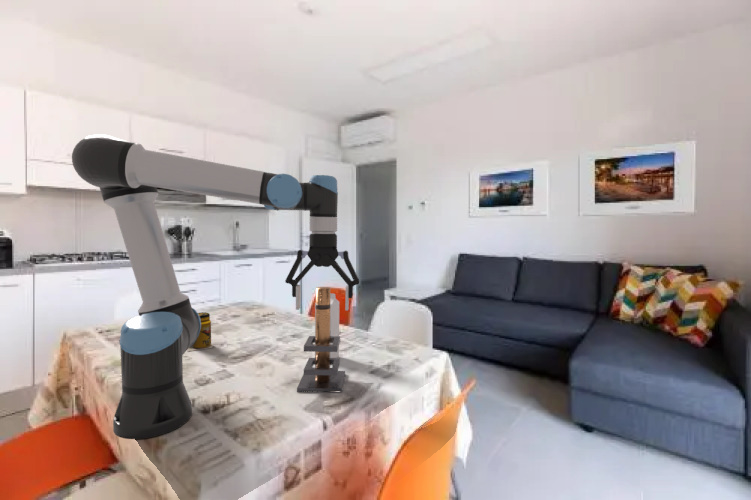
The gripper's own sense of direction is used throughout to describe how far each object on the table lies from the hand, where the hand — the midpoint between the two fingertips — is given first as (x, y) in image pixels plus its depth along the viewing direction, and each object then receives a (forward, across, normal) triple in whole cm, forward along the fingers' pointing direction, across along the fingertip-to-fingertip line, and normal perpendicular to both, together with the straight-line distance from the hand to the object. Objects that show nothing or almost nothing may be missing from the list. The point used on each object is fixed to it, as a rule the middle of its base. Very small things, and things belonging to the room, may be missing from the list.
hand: (322, 309), depth 103 cm
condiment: (+22, +48, -29) cm, 60 cm away
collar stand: (+21, 0, 0) cm, 21 cm away
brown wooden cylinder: (+20, 0, 0) cm, 20 cm away
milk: (+21, +1, -19) cm, 28 cm away
